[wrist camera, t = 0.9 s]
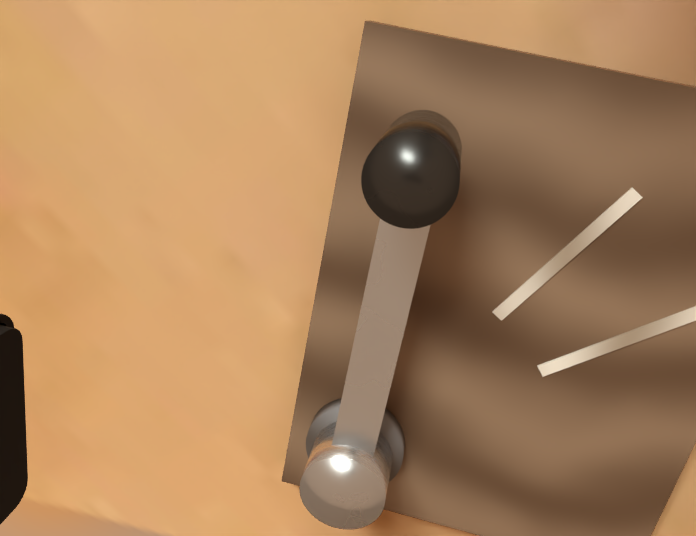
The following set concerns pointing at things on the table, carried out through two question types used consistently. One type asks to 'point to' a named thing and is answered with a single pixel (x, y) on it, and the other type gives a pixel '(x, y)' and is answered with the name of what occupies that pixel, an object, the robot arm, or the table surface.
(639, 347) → the cracker board
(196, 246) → the table surface
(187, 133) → the table surface
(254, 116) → the table surface
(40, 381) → the table surface
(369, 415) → the lever
